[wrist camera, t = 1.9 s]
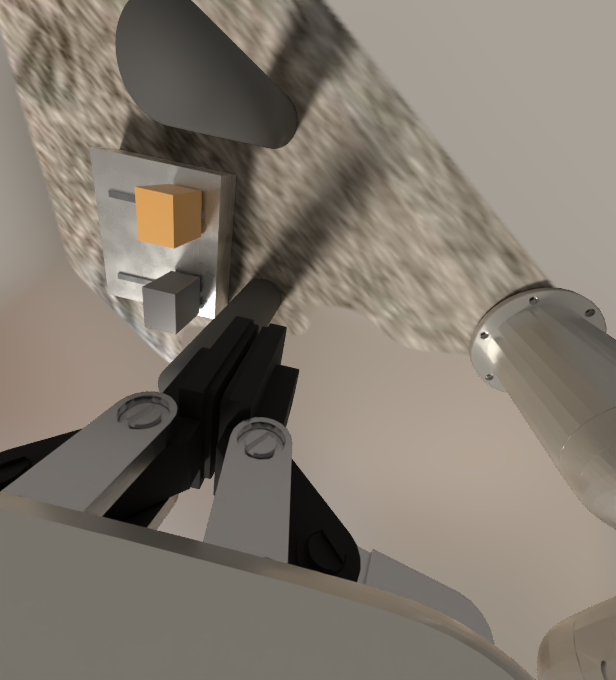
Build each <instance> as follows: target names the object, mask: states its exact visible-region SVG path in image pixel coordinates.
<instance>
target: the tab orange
mask: <svg viewBox="0 0 616 680" xmlns="http://www.w3.org/2000/svg"><path fill="white" fill-rule="evenodd" d="M135 201H136V214H137V228H138V241H143V242H147V243H152V244H156V245H160V246H165V247H169V248H173V249H174V248H177V247H179V246H181V245H184V244H186V243H188V242H191V241H193V240H195V239H197V238H200V237H201V212H202V191H200V190H195V189H191V188H186V187H181V186H177V185H172V184H161V185H148V186H136V187H135Z"/></svg>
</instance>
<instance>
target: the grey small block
mask: <svg viewBox="0 0 616 680" xmlns="http://www.w3.org/2000/svg"><path fill="white" fill-rule="evenodd" d="M142 295H143V308H144V322H145V327H147V328H151V329H155V330H159V331H164V332H168V333H172V334H177V333H178V332H179V331H180V330H181V329H182V328H184V327H185V326H186V325H187V324H188V323H189V322H190V321H191V320H192V319H193V318H195V317H196V316H197V315H198V314H199V312H200V277H196V276H192V275H188V274H184V273H179V272H175V271H170V272H168V273H166V274H165V275H163V276H161V277H159V278H157V279H155V280H154V281H152V282H150V283H148V284H146V285H144V286H142Z"/></svg>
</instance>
